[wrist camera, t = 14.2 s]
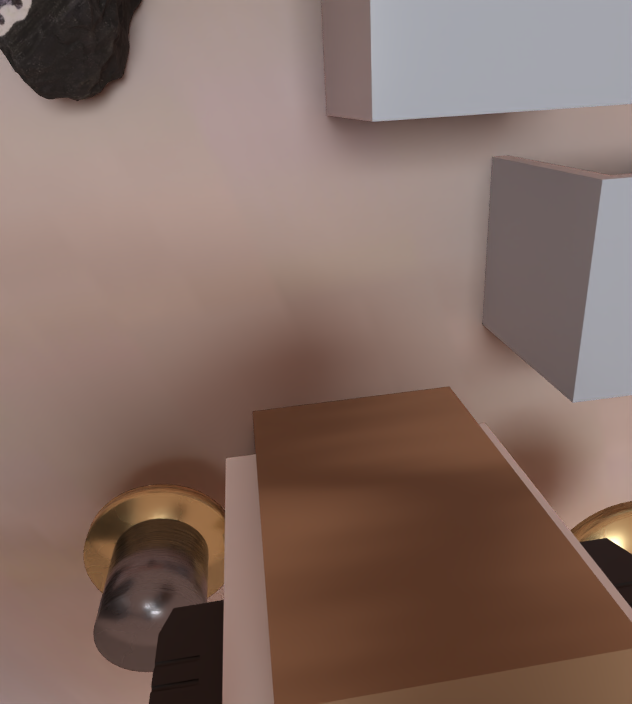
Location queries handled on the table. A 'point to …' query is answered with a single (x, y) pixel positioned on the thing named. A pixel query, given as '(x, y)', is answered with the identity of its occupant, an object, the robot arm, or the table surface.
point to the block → (421, 565)
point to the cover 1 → (474, 56)
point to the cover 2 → (562, 274)
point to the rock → (66, 43)
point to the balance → (192, 562)
